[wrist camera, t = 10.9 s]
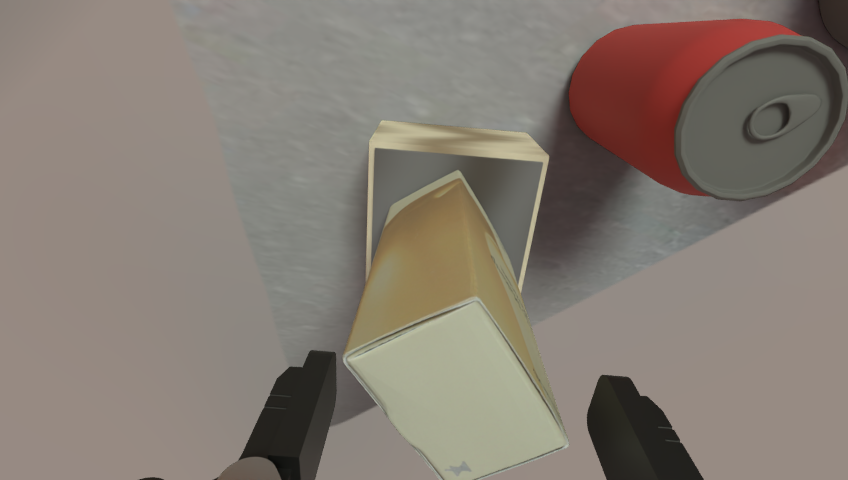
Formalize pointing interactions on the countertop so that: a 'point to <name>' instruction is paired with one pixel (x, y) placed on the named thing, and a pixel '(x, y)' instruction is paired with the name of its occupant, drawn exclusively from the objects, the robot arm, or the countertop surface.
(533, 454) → the skincare box
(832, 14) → the mug
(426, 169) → the birch plinth
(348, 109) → the countertop surface
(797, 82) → the beer can
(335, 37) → the countertop surface
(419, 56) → the countertop surface
